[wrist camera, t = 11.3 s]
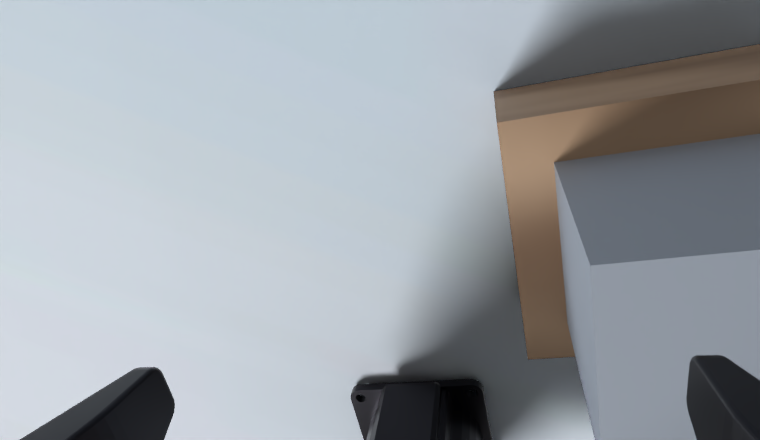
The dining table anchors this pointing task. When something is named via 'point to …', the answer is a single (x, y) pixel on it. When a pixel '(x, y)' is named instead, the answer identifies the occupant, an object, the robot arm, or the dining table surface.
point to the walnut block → (604, 153)
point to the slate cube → (659, 276)
